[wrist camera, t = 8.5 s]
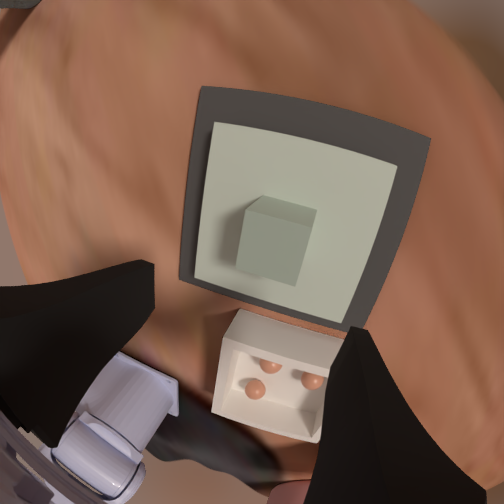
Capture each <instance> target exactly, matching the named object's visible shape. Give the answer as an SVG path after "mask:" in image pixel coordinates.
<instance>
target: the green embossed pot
mask: <svg viewBox="0 0 504 504" xmlns="http://www.w3.org/2000/svg"><path fill="white" fill-rule="evenodd" d="M40 1H41V0H0V8H25V9H28V8H32V7H34V6H35V5H37V4H38V3H39V2H40Z"/></svg>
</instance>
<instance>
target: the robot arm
mask: <svg viewBox="0 0 504 504" xmlns="http://www.w3.org/2000/svg"><path fill="white" fill-rule="evenodd" d="M154 309H155V294H154V264H153V263H150V262H147V261H144V260H142V259H141V260H135V261H131V262H127V263H123V264H119V265H116V266H112V267H109V268H105V269H102V270H98V271H95V272H91V273H87V274H83V275H79V276H75V277H72V278H68V279H63V280H59V281H54V282H48V283H42V284H34V285H22V286H3V287H2V286H1V287H0V504H124V503H125V502H127V501H128V500H129V499H130V498H131V497H132V496H133V495H134V494H135V492H136V491H137V490H138V488H139V487H140V485H141V483H142V481H143V479H144V477H145V474H146V470H145V465H144V463H143V462H141V460H142V458H143V457H144V456H143V455H142V454H141V453H142V451H143V450H144V448H145V447H146V445H147V444H148V442H149V441H150V439H151V437H152V436H153V434H154V433H155V431H156V430H157V428H158V427H159V425H160V424H161V422H162V421H163V419H164V417H165V416H166V414H167V413H169V414H172V415H174V416H178V415H179V403H178V382H177V380H176V379H174V378H172V377H170V376H167V375H165V374H163V373H161V372H159V371H157V370H155V369H153V368H151V367H149V366H147V365H145V364H143V363H141V362H139V361H137V360H135V359H133V358H131V357H129V356H127V355H125V354H123V353H122V352H120V350H121V349H122V348H123V346H124V345H125V344H126V343H127V342H128V341H129V340H130V339H131V338H132V337H133V336H134V335H135V334H136V333H137V332H138V330H139V329H140V328H141V327H142V326H143V324H144V323H145V322H146V320H147V319H148V317H149V316H150V314H151V313H152V312H153V310H154ZM75 411H76V412H75ZM20 426H21V427H22V428H23V429H24V430H25V431H26V432H27V433H29V432H30V431H31V432H32V433H33V434H34V435H35V436H36V437H37V438H39V439H40V440H41V441H42V442H43V444H42V445H41V446H40V448H39V449H38V450H37V449H36V448H35V447H34V446H33V445H32V444H31V443H30V442H29V441H28V440H27V439H26V438H25V437H24V436H23V435H22V434H21V433H20V432H19V431H18V428H19V427H20ZM16 452H17V453H18V454H19V455H20V456H21V457H22V458H23V459H24V460H25V461H26V462H27V463H28V464H29V465H30V466H31V467H32V468H33V469H34V470H35V471H36V472H37V473H38V474H39V475H40V476H41V477H42V478H43V479H44V481H45V483H43V482H42V481H41V480H40V479H39V478H38V477H37V476H36V475H34V474H33V473H32V472H31V471H30V470H29V469H27V468H26V467H25V466H24V465H23V464H22V463H20V462H19V461H18V460H17V458H16ZM55 458H56V459H57V460H58V461H59V462H60V463H61V464H63V465H64V466H65V467H66V468H68V469H69V470H70V471H71V472H72V473H74V474H75V475H76V476H78V477H79V478H80V479H82V480H83V481H85V482H86V483H87V484H89V485H90V486H91V487H93V488H94V489H96V490H97V491H98V492H100V493H101V494H103V495H100V494H98V493H96V492H94V491H92V490H91V489H90V488H88V487H87V486H85V485H84V484H83V483H81V482H80V481H79V480H77V479H76V478H75V477H73V476H72V475H71V474H69V473H68V472H67V471H66V470H65V469H63V468H62V467H61V466H60V465H59V464H58V463H57V461H56V459H55ZM303 504H487V496H486V490H485V489H483V488H482V487H481V486H480V485H479V484H477V483H476V482H475V481H474V480H472V479H471V478H470V477H469V476H468V475H466V474H465V473H464V472H463V471H462V470H461V469H460V468H459V467H458V466H457V465H456V464H455V463H454V462H453V461H452V460H451V459H450V458H449V457H448V456H447V455H446V454H445V453H444V452H443V451H442V450H441V448H440V447H439V446H438V445H437V444H436V442H435V441H434V440H433V439H432V437H431V436H430V435H429V434H428V433H427V431H426V430H425V429H424V427H423V426H422V425H421V423H420V422H419V420H418V419H417V417H416V416H415V414H414V413H413V412H412V410H411V409H410V407H409V405H408V404H407V402H406V401H405V399H404V397H403V396H402V394H401V392H400V390H399V389H398V387H397V385H396V384H395V382H394V380H393V378H392V376H391V374H390V373H389V371H388V369H387V367H386V365H385V363H384V361H383V359H382V357H381V355H380V353H379V351H378V349H377V347H376V345H375V343H374V341H373V339H372V337H371V335H370V333H369V332H368V330H365V329H361V328H358V327H354V326H351V327H350V329H349V331H348V333H347V335H346V337H345V339H344V341H343V343H342V345H341V347H340V349H339V351H338V353H337V355H336V357H335V359H334V361H333V363H332V365H331V367H330V371H329V376H328V380H327V385H326V390H325V399H324V409H323V419H322V428H321V437H320V445H319V451H318V456H317V460H316V464H315V467H314V471H313V475H312V478H311V481H310V485H309V488H308V491H307V494H306V497H305V500H304V502H303Z"/></svg>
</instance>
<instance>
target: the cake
mask: <svg viewBox="0 0 504 504" xmlns="http://www.w3.org/2000/svg"><path fill="white" fill-rule="evenodd" d="M310 481H311V480H305V481H293V482H287V483H282V484H279V485H277V486H276V487H275V488H273V489H272V490H271V493H270V495H269V498H268V501H267V504H303V502H304V500H305V497H306V494H307V491H308V488H309V485H310Z"/></svg>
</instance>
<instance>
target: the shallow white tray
mask: <svg viewBox="0 0 504 504" xmlns="http://www.w3.org/2000/svg"><path fill="white" fill-rule="evenodd" d="M343 341H344V339H341V338H337V337H333V336H330V335H326V334H322V333H319V332H315V331H312V330H308V329H305V328H301V327H298V326H295V325H291V324H288V323H285V322H281V321H278V320H275V319H272V318H269V317H265V316H262V315H259V314H256V313H253V312H250V311H247V310H244V309H241V308H240V309H239V311H238V312H237V314H236V316H235V317H234V319H233V321H232V322H231V324H230V326H229V328H228V329H227V331H226V333H225V334H224V336H223V340H222V346H221V353H220V359H219V366H218V372H217V378H216V385H215V392H214V398H213V405H212V412H213V413H215V414H218V415H221V416H223V417H226V418H229V419H232V420H234V421H237V422H240V423H243V424H246V425H249V426H252V427H256V428H259V429H262V430H266V431H269V432H272V433H276V434H280V435H283V436H287V437H291V438H295V439H299V440H303V441H308V442H312V443H318V441H319V440H320V437H321V428H322V419H323V409H324V399H325V390H326V385H327V380H328V376H329V371H330V367H331V365H332V363H333V361H334V359H335V357H336V355H337V353H338V351H339V349H340V347H341V345H342V343H343Z"/></svg>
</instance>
